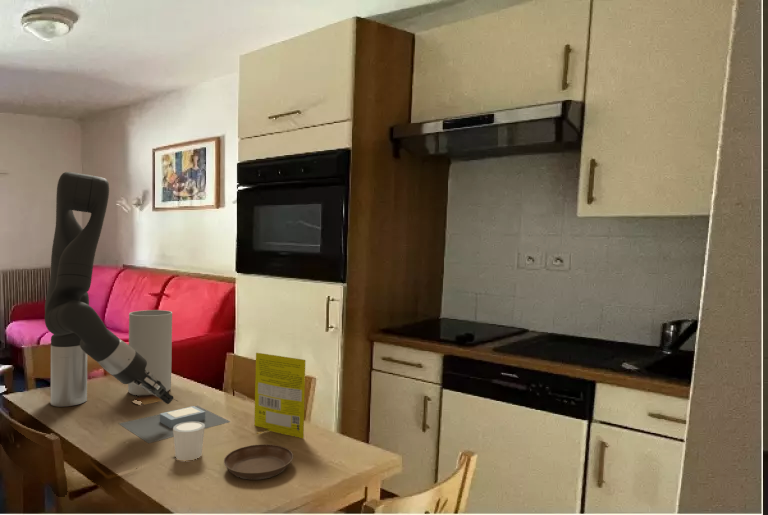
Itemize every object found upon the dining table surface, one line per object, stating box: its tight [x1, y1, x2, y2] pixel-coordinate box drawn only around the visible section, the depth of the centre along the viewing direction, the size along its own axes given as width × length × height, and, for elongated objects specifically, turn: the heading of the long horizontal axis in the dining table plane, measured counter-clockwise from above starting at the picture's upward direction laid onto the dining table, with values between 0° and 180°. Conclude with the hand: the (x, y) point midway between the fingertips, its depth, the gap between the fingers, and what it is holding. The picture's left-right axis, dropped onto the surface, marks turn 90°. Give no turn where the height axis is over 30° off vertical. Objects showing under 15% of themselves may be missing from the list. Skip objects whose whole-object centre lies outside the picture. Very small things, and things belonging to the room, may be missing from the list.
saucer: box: [223, 443, 294, 481], centre depth 117 cm, size 15×15×3 cm
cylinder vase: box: [127, 309, 173, 397], centre depth 170 cm, size 12×12×25 cm
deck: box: [159, 405, 205, 428], centre depth 143 cm, size 6×2×10 cm
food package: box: [253, 352, 306, 439], centre depth 137 cm, size 15×1×20 cm, turn 65°
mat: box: [118, 405, 231, 444], centre depth 141 cm, size 18×22×1 cm
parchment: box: [134, 395, 178, 406], centre depth 156 cm, size 25×10×1 cm, turn 47°
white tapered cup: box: [173, 421, 206, 461], centre depth 122 cm, size 7×7×7 cm
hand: (169, 400), depth 140 cm, fingers closed
